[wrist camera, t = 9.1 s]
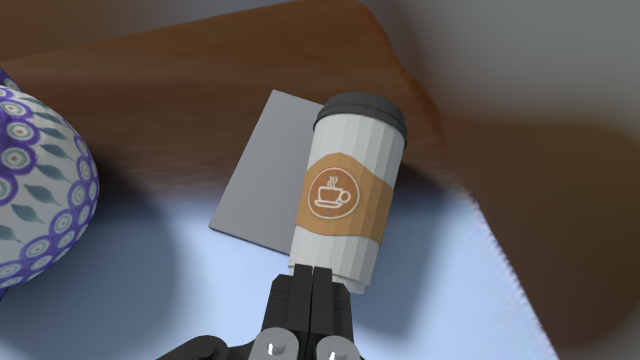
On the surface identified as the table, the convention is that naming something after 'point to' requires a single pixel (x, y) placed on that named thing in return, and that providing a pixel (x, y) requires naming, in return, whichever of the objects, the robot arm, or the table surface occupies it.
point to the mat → (270, 175)
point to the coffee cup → (349, 187)
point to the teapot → (40, 186)
